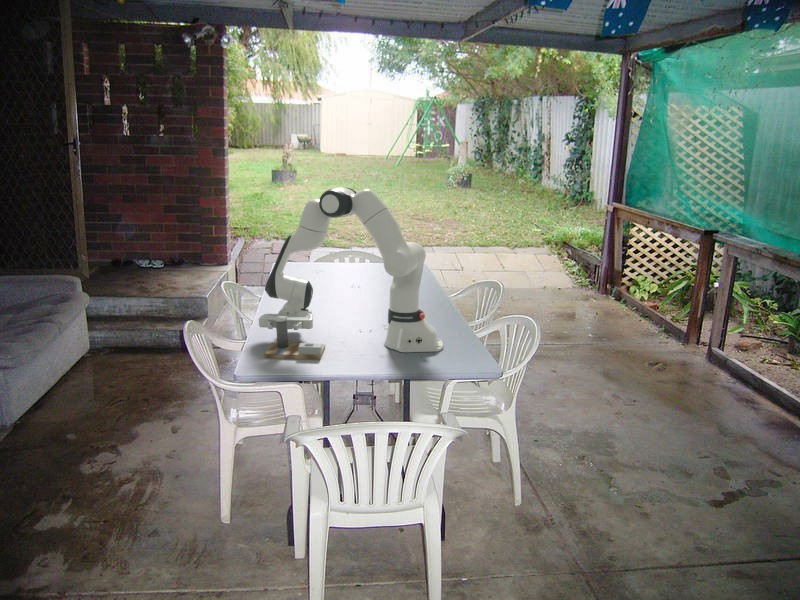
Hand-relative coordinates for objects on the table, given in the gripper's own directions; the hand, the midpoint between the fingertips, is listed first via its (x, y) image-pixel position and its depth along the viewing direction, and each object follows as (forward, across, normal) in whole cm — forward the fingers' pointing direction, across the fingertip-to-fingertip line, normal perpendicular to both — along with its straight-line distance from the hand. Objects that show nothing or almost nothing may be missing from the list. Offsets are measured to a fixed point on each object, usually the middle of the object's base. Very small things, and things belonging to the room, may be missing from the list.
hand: (282, 327), depth 250 cm
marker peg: (0, 0, +7) cm, 7 cm away
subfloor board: (+2, +5, +9) cm, 10 cm away
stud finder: (+6, +11, +7) cm, 14 cm away
